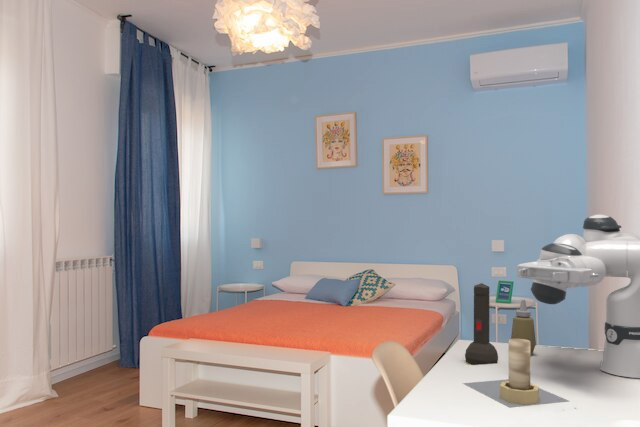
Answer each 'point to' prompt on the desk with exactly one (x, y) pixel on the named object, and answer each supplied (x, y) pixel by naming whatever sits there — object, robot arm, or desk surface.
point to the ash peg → (519, 364)
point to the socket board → (495, 393)
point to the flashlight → (481, 330)
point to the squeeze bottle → (524, 326)
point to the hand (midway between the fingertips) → (536, 274)
